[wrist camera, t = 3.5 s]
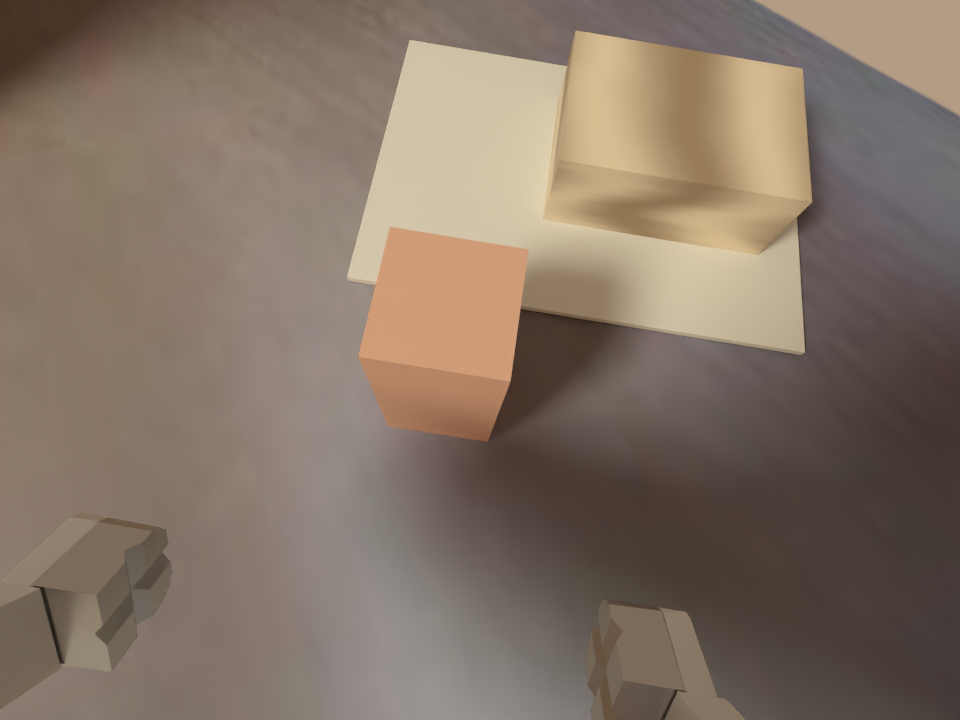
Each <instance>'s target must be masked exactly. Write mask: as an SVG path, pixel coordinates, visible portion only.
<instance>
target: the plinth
mask: <svg viewBox="0 0 960 720" xmlns="http://www.w3.org/2000/svg"><path fill="white" fill-rule="evenodd" d="M811 203H812V192H811V178H810V164H809V151H808V137H807V123H806V110H805V96H804V82H803V69H801V68H795V67H789V66H783V65H777V64H771V63H765V62H759V61H753V60H747V59H741V58H735V57H729V56H724V55H718V54H712V53H706V52H700V51H694V50H688V49H682V48H676V47H670V46H664V45H658V44H652V43H647V42H641V41H635V40H629V39H623V38H617V37H611V36H605V35H599V34H593V33H587V32H581V31H576V32H575V36H574V40H573V44H572V48H571V52H570V56H569V60H568V64H567V68H566V72H565V76H564V80H563V84H562V88H561V91H560V95H559V99H558V104H557V112H556V119H555V127H554V135H553V142H552V150H551V158H550V166H549V173H548V181H547V189H546V196H545V204H544V212H543V219H542V220H548V221H554V222H560V223H566V224H572V225H578V226H584V227H590V228H596V229H602V230H608V231H614V232H620V233H626V234H632V235H638V236H644V237H650V238H656V239H662V240H668V241H674V242H680V243H686V244H692V245H698V246H704V247H710V248H716V249H723V250H729V251H735V252H741V253H747V254H753V255H758V254H759V253H760V252H761V251H762V250H763V249H764V248H765V247H766V246H767V245H768V244H769V243H770V242H771V241H772V240H773V239H774V238H775V237H776V236H777V235H779V234H780V233H781V232H782V231H783V230H784V229H785V228H786V227H787V226H788V225H789V224H790V223H791V222H792V221H793V220H794V219H795V218H796V217H797V216H798V215H799V214H800V213H802V212H803V211H804V210H805V209H806V208H807V207H808V206H809V205H810V204H811Z"/></svg>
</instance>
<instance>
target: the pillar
mask: <svg viewBox="0 0 960 720" xmlns="http://www.w3.org/2000/svg"><path fill="white" fill-rule="evenodd" d="M528 250H529V249H523V248H517V247H511V246H505V245H499V244H493V243H486V242H480V241H474V240H468V239H462V238H456V237H450V236H444V235H438V234H431V233H425V232H419V231H413V230H407V229H401V228H395V227H390V228H389V232H388V237H387V241H386V245H385V249H384V253H383V257H382V261H381V265H380V270H379V274H378V278H377V282H376V286H375V290H374V294H373V298H372V303H371V307H370V311H369V315H368V319H367V323H366V327H365V331H364V336H363V340H362V344H361V348H360V352H359V356H358V357H359V359H360V362H361V364H362V366H363V369H364V371H365V373H366V376H367V378H368V380H369V383H370V385H371V387H372V390H373V392H374V394H375V397H376V399H377V401H378V404H379V406H380V408H381V411H382V413H383V415H384V418H385V420H386V422H387V425H388V426H391V427H397V428H403V429H410V430H416V431H422V432H428V433H434V434H441V435H447V436H453V437H459V438H466V439H472V440H478V441H484V442H488V439H489V437H490V434H491V431H492V429H493V426H494V424H495V421H496V418H497V416H498V413H499V410H500V408H501V405H502V403H503V400H504V397H505V395H506V392H507V390H508V387H509V384H510V382H511V375H512V367H513V360H514V353H515V345H516V338H517V331H518V323H519V316H520V309H521V301H522V294H523V287H524V279H525V272H526V265H527V257H528Z"/></svg>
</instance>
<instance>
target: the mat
mask: <svg viewBox="0 0 960 720" xmlns="http://www.w3.org/2000/svg"><path fill="white" fill-rule="evenodd" d="M566 68H567V66H561V65H555V64H549V63H544V62H538V61H532V60H526V59H520V58H514V57H508V56H502V55H496V54H490V53H484V52H478V51H472V50H466V49H460V48H454V47H448V46H442V45H437V44H431V43H425V42H419V41H413V40H410V41H409V45H408V49H407V53H406V56H405V60H404V64H403V68H402V72H401V75H400V79H399V83H398V87H397V90H396V94H395V98H394V102H393V106H392V109H391V113H390V117H389V121H388V124H387V128H386V132H385V136H384V139H383V143H382V147H381V151H380V155H379V158H378V162H377V166H376V170H375V173H374V177H373V181H372V185H371V188H370V192H369V196H368V200H367V204H366V207H365V211H364V215H363V219H362V222H361V226H360V230H359V234H358V238H357V241H356V245H355V249H354V253H353V256H352V260H351V264H350V268H349V271H348V275H347V279H348V281H353V282H360V283H366V284H372V285H376V282H377V278H378V274H379V270H380V265H381V261H382V257H383V253H384V249H385V245H386V241H387V237H388V232H389V228H390V227H395V228H401V229H407V230H413V231H419V232H425V233H431V234H438V235H444V236H450V237H456V238H462V239H468V240H474V241H480V242H486V243H493V244H499V245H505V246H511V247H517V248H523V249H529V250H528V257H527V265H526V272H525V279H524V287H523V294H522V301H521V309H524V310H530V311H536V312H542V313H548V314H554V315H560V316H567V317H573V318H579V319H585V320H591V321H597V322H603V323H609V324H615V325H621V326H627V327H634V328H640V329H646V330H652V331H658V332H664V333H670V334H676V335H682V336H688V337H694V338H701V339H707V340H713V341H719V342H725V343H731V344H737V345H743V346H749V347H755V348H761V349H768V350H774V351H780V352H786V353H792V354H798V355H802V354H803V353H805V343H804V326H803V310H802V293H801V277H800V260H799V244H798V227H797V217H796V218H795V219H794V220H793V221H792V222H791V223H790V224H789V225H788V226H787V227H786V228H785V229H784V230H783V231H782V232H781V233H780V234H779V235H777V236H776V237H775V238H774V239H773V240H772V241H771V242H770V243H769V244H768V245H767V246H766V247H765V248H764V249H763V250H762V251H761V252H760V253H759V254H758V255H753V254H747V253H741V252H735V251H729V250H723V249H716V248H710V247H704V246H698V245H692V244H686V243H680V242H674V241H668V240H662V239H656V238H650V237H644V236H638V235H632V234H626V233H620V232H614V231H608V230H602V229H596V228H590V227H584V226H578V225H572V224H566V223H560V222H554V221H548V220H542V219H543V212H544V204H545V196H546V189H547V181H548V173H549V166H550V158H551V150H552V142H553V135H554V127H555V119H556V112H557V104H558V99H559V95H560V91H561V88H562V84H563V80H564V76H565V72H566Z"/></svg>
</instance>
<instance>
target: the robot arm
mask: <svg viewBox="0 0 960 720" xmlns="http://www.w3.org/2000/svg"><path fill="white" fill-rule="evenodd" d="M168 544H169V543H168V538H167V532H166V530H165V529H162V528H160V527H155V526H150V525H144V524H139V523H134V522H128V521H123V520H118V519H113V518H105V517H100V516H94V515H89V514H84V513H80V514H77V515H75V516H72V517H70V518H69V519H68V520H67V521H66V522H64V523H63V524H62V525H61V526H60V527H59V528H58V529H57V530H56V531H54V532H53V533H52V534H51V535H50V536H49V537H48V538H47V539H46V540H45V541H43V542H42V543H41V544H40V545H39V546H38V547H37V548H36V549H35V550H33V551H32V552H31V553H30V554H29V555H28V556H27V557H26V558H25V559H23V560H22V561H21V562H20V563H19V564H18V565H17V566H16V567H15V568H13V569H12V570H11V571H10V572H9V573H8V574H7V575H6V576H5V577H4V578H2V579H1V580H0V709H1V708H3V707H4V706H6V705H7V704H9V703H10V702H12V701H13V700H15V699H16V698H18V697H19V696H21V695H22V694H24V693H25V692H27V691H28V690H30V689H31V688H33V687H34V686H36V685H37V684H39V683H40V682H41V681H43V680H44V679H46V678H47V677H49V676H50V675H52V674H53V673H55V672H56V671H58V670H59V669H60V668H61V665H63V666H71V667H78V668H86V669H94V670H101V671H109V672H112V671H113V670H114V669H115V667H116V666H117V664H118V663H119V662H120V660H121V659H122V658H123V656H124V655H125V653H126V652H127V651H128V649H129V648H130V647H131V645H132V644H133V642H134V641H135V640H136V638H137V624H139V623H140V622H142V621H144V620H146V619H147V618H149V617H151V616H153V615H154V613H155V612H156V610H157V609H158V608H159V606H160V605H161V603H162V602H163V600H164V597H165V595H166V593H167V590H168V588H169V585H170V581H171V574H172V569H171V562H170V560H169V559H168V558H167V557H166V556H165V555H164V554H163V553H162V551H163V550H164V549H165V547H166V546H167V545H168ZM597 614H598V621H599V626H597V627H596V628H594V629H593V630H591V633H590V637H589V640H588V644H587V652H586V676H587V685H588V687H589V688H590V689H591V691H592V692H593V693H594V695H595V699H594V702H593V705H592V707H591V718H592V720H745V719H744V717H743V716H742V715H741V714H740V713H739V712H738V711H737V710H736V709H735V708H734V707H733V706H732V705H731V703H730V702H729V701H728V700H727V699H722V698H718V696H717V693H716V690H715V687H714V684H713V682H712V679H711V676H710V673H709V670H708V667H707V664H706V661H705V659H704V656H703V653H702V650H701V647H700V644H699V641H698V639H697V636H696V633H695V630H694V627H693V624H692V621H691V618H690V616H689V615H688V614H687V613H686V612H684V611H678V610H671V609H665V608H656V607H653V606H646V605H640V604H633V603H627V602H620V601H613V600H607V599H604V601H603V602H602V603H601V605H600V607H599V610H598V613H597Z"/></svg>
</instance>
